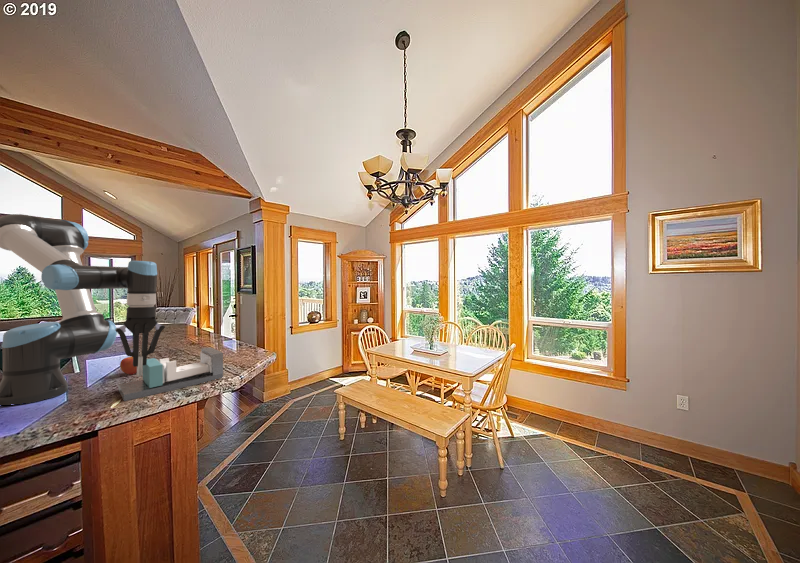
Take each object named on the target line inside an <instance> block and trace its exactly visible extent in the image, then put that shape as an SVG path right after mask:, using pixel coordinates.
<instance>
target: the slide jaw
mask: <svg viewBox="0 0 800 563" xmlns="http://www.w3.org/2000/svg"><path fill="white" fill-rule="evenodd" d="M142 380H144V382H145V383H146V384H147V385H148V387H149V388H152V387H157V386H161V385H163V383H165V381H164V365H163V364H162V363H161V362H159V359H157V358H155V357H153V358H147V364H146V365H143V368H142Z"/></svg>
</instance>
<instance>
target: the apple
mask: <svg viewBox="0 0 800 563" xmlns="http://www.w3.org/2000/svg"><path fill="white" fill-rule="evenodd" d="M119 367H120V370H121V371H122V373H124V374H127V375H135V374H137V366H136V367H134V366H133V357H132V356H127V357H125V358H123V359H122V360H120V363H119ZM142 369H143V366H142Z"/></svg>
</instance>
